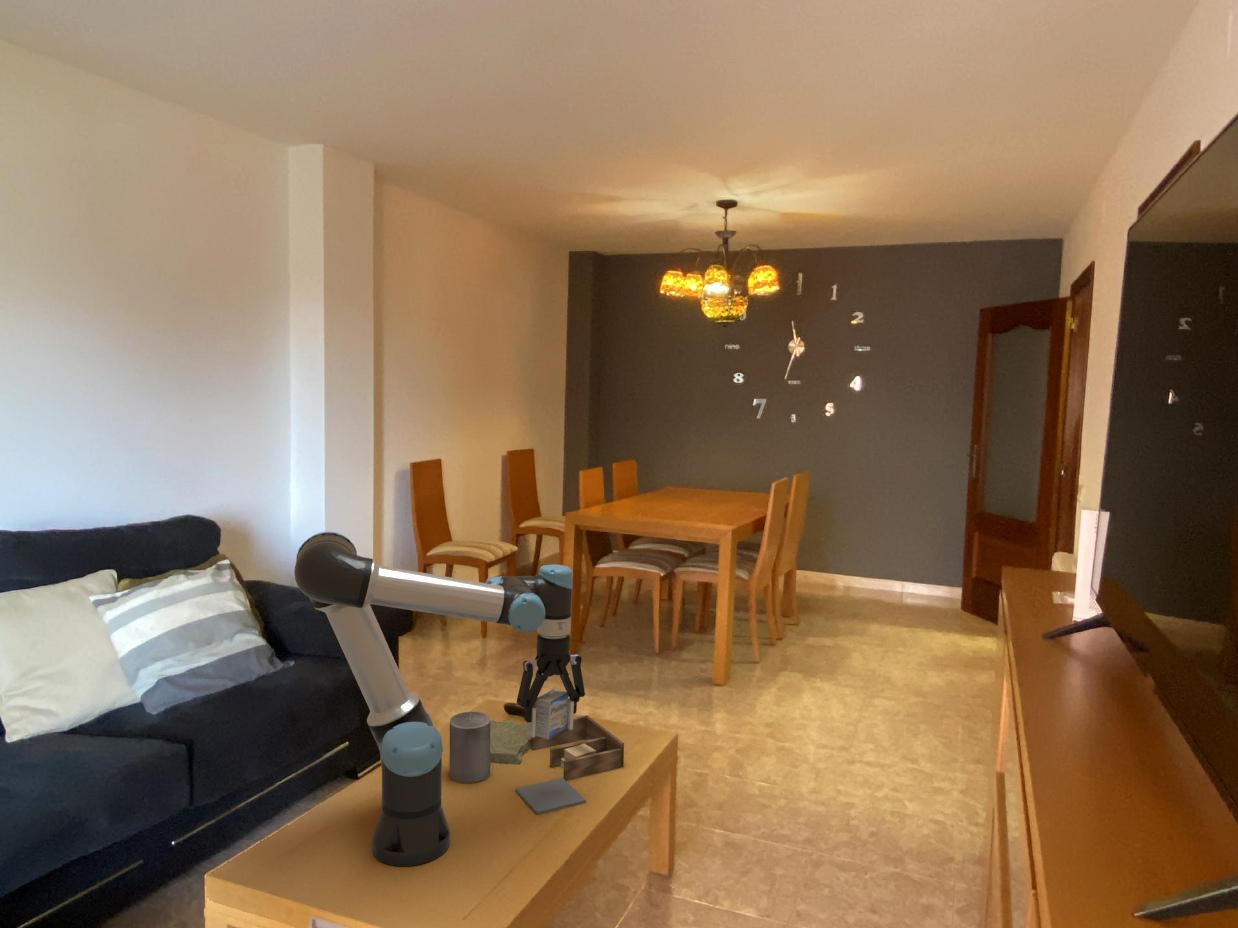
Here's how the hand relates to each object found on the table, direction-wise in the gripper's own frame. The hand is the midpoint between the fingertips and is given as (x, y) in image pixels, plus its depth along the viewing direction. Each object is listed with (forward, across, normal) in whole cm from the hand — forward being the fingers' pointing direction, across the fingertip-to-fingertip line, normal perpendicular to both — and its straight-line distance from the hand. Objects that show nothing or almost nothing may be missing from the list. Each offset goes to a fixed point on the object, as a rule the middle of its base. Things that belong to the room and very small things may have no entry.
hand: (550, 731), depth 190 cm
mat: (+15, 0, -1) cm, 15 cm away
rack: (+15, +15, +14) cm, 25 cm away
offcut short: (+13, +13, +8) cm, 20 cm away
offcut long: (+15, +13, +9) cm, 22 cm away
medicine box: (0, 0, 0) cm, 0 cm away
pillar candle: (+15, -12, +18) cm, 26 cm away
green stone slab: (+16, 0, +29) cm, 33 cm away
